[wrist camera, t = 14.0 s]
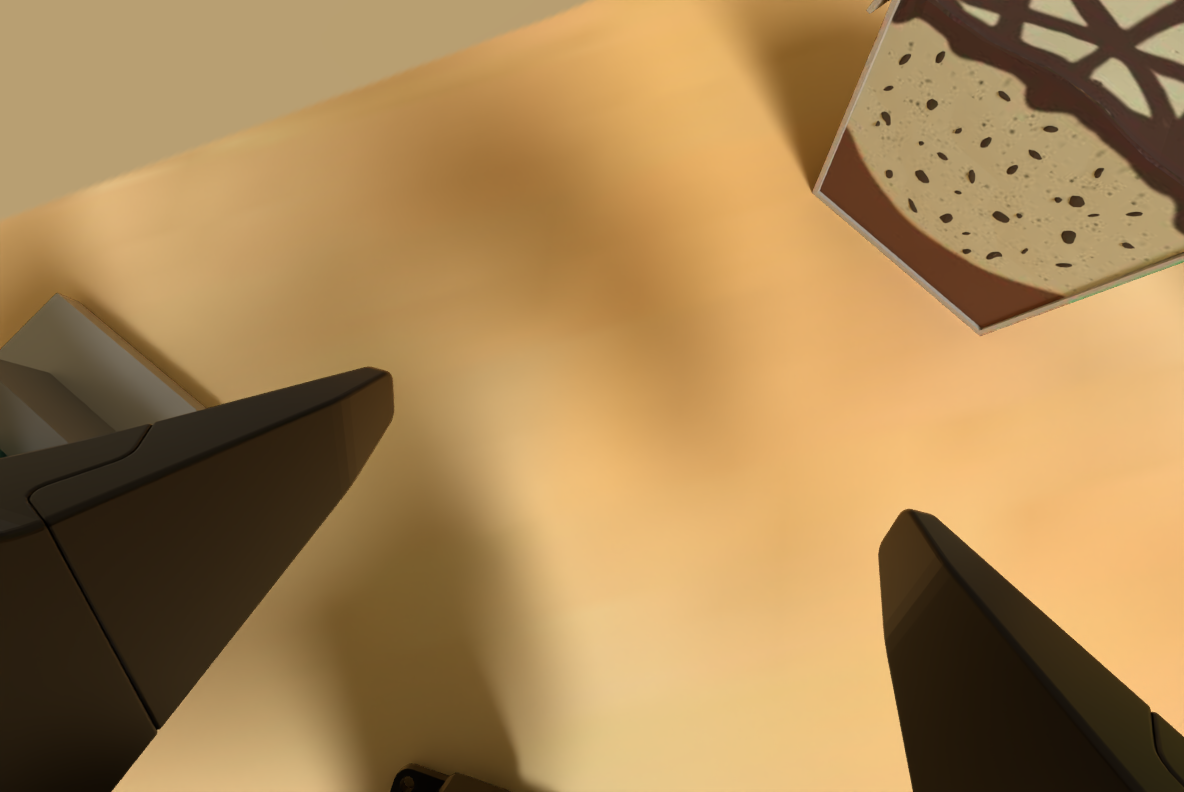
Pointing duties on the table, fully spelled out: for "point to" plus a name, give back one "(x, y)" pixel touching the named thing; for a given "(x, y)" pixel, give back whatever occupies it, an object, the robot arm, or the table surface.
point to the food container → (1017, 150)
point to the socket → (77, 382)
